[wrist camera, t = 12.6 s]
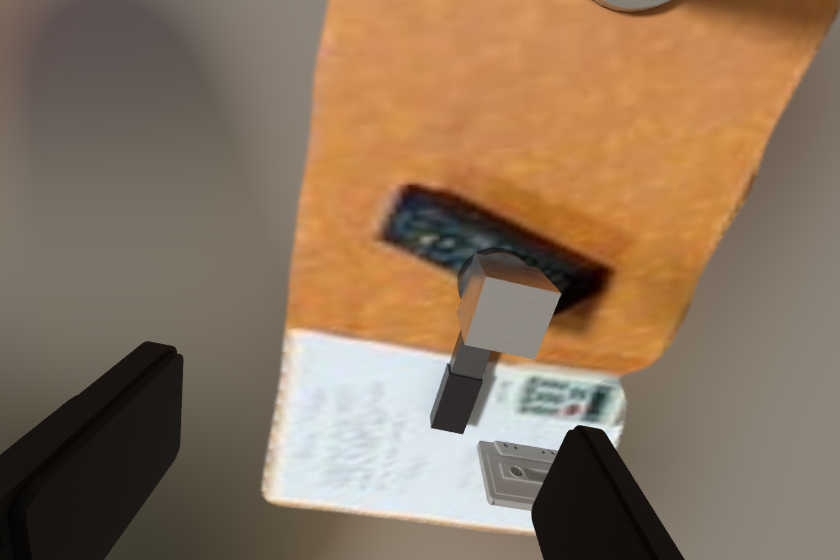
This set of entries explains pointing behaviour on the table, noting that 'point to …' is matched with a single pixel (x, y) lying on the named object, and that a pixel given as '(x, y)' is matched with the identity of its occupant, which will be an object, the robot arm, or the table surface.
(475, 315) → the grey block
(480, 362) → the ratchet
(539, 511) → the robot arm
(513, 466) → the cassette
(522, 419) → the table surface
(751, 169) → the table surface
